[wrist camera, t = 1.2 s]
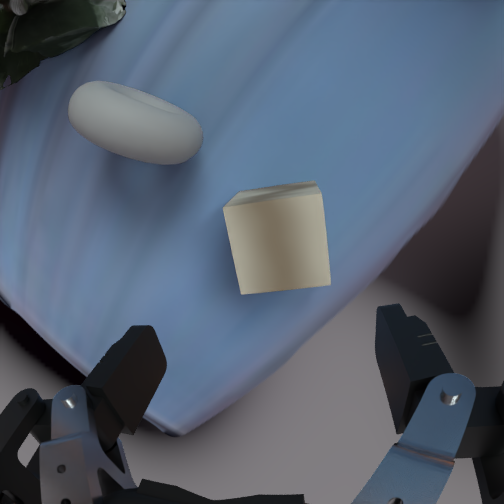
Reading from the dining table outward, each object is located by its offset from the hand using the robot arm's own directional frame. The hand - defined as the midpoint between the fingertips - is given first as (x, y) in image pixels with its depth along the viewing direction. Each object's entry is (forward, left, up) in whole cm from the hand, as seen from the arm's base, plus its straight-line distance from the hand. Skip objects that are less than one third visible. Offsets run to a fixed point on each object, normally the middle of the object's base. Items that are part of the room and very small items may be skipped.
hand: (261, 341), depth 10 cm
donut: (+8, -10, -16) cm, 20 cm away
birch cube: (0, 0, -15) cm, 15 cm away
